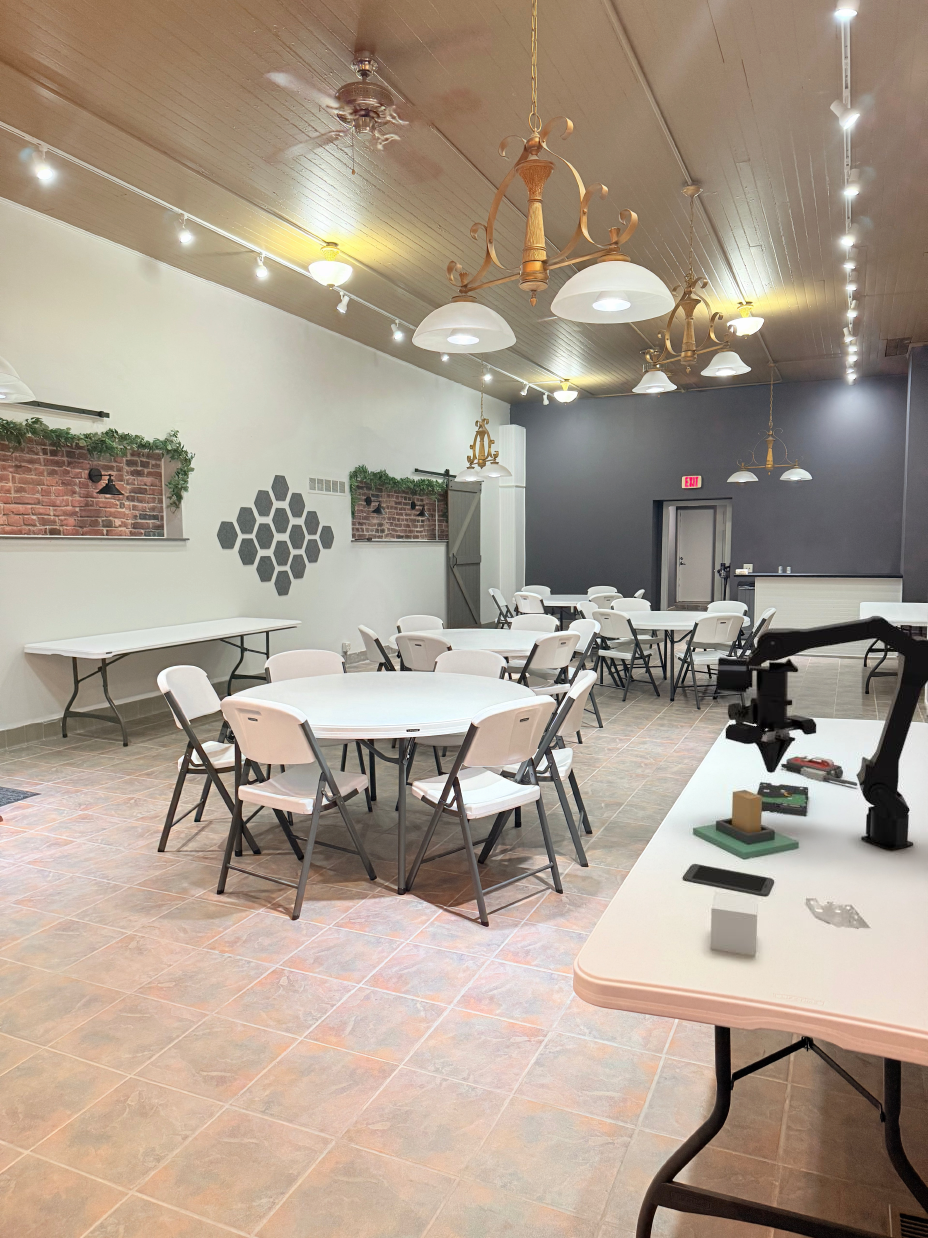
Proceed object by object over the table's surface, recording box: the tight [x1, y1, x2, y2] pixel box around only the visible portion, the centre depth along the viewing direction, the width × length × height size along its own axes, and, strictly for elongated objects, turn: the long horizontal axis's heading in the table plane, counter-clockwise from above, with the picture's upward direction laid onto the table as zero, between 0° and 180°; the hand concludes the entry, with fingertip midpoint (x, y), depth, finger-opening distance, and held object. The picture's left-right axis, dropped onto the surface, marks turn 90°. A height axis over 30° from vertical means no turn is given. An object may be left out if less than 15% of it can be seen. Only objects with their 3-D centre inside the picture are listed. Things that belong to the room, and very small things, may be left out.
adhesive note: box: [710, 890, 759, 957], centre depth 116 cm, size 6×6×6 cm
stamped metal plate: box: [805, 897, 871, 930], centre depth 124 cm, size 8×7×2 cm
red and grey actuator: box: [780, 755, 858, 787], centre depth 197 cm, size 9×4×20 cm
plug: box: [731, 789, 763, 833], centre depth 155 cm, size 5×3×8 cm, turn 23°
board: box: [692, 817, 800, 860], centre depth 155 cm, size 14×13×3 cm
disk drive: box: [756, 781, 809, 817], centre depth 177 cm, size 10×3×15 cm
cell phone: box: [682, 863, 775, 898], centre depth 137 cm, size 7×14×1 cm, turn 60°
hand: (770, 772), depth 160 cm, fingers closed
